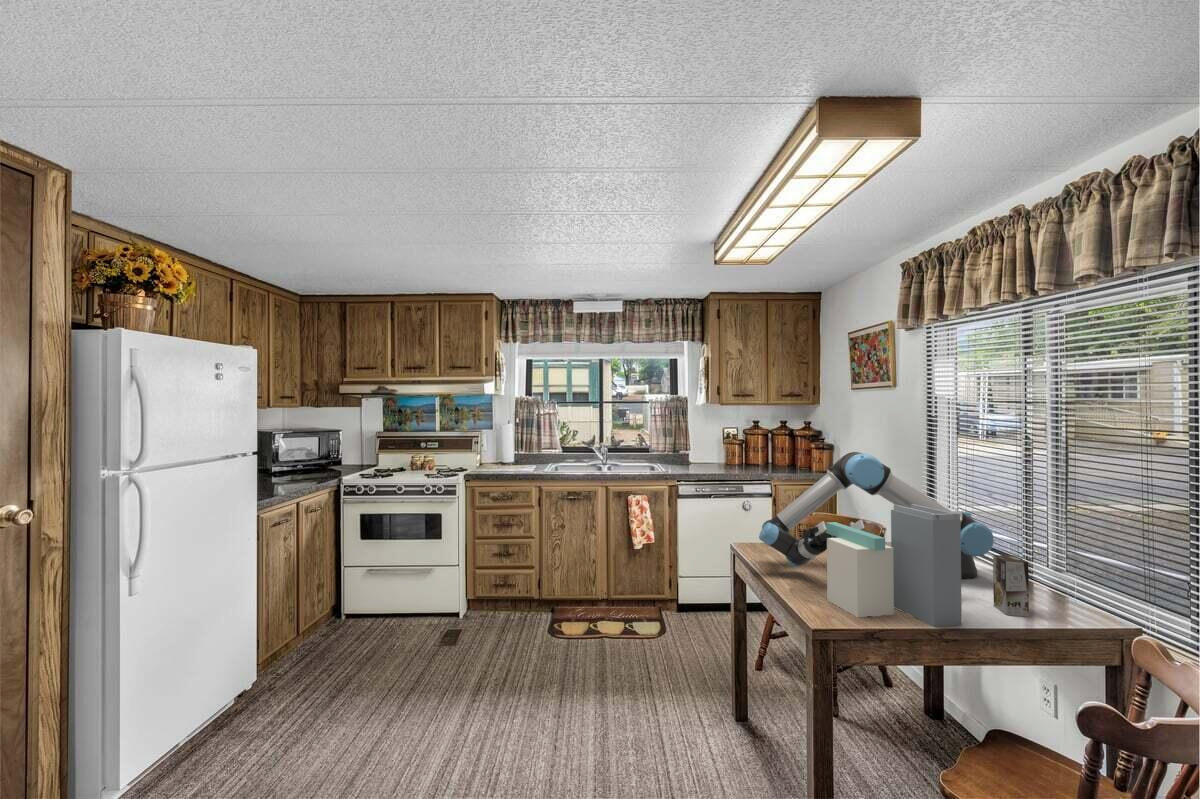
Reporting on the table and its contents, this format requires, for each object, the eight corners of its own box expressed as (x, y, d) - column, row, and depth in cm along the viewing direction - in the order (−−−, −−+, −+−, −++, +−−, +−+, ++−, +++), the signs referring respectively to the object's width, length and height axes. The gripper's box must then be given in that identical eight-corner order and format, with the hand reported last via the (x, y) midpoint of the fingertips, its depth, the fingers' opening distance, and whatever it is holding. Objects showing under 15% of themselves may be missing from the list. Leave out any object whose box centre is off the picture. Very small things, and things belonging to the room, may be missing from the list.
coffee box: (1030, 617, 180) (1029, 562, 180) (1005, 615, 181) (1005, 561, 182) (1015, 607, 189) (1015, 554, 189) (992, 605, 190) (992, 553, 190)
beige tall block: (861, 598, 198) (860, 536, 198) (893, 614, 182) (893, 547, 182) (827, 600, 195) (826, 538, 196) (857, 617, 180) (857, 549, 180)
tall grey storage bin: (917, 604, 191) (916, 504, 192) (961, 624, 174) (960, 513, 174) (891, 606, 190) (890, 504, 190) (933, 626, 172) (932, 514, 172)
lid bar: (835, 532, 204) (835, 522, 204) (885, 550, 179) (885, 538, 179) (826, 533, 204) (826, 522, 204) (874, 550, 179) (874, 538, 179)
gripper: (848, 553, 215) (881, 534, 198) (783, 557, 211) (811, 537, 193) (842, 533, 219) (874, 512, 201) (777, 535, 214) (804, 514, 197)
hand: (843, 524), depth 197 cm, fingers open, 13 cm apart
